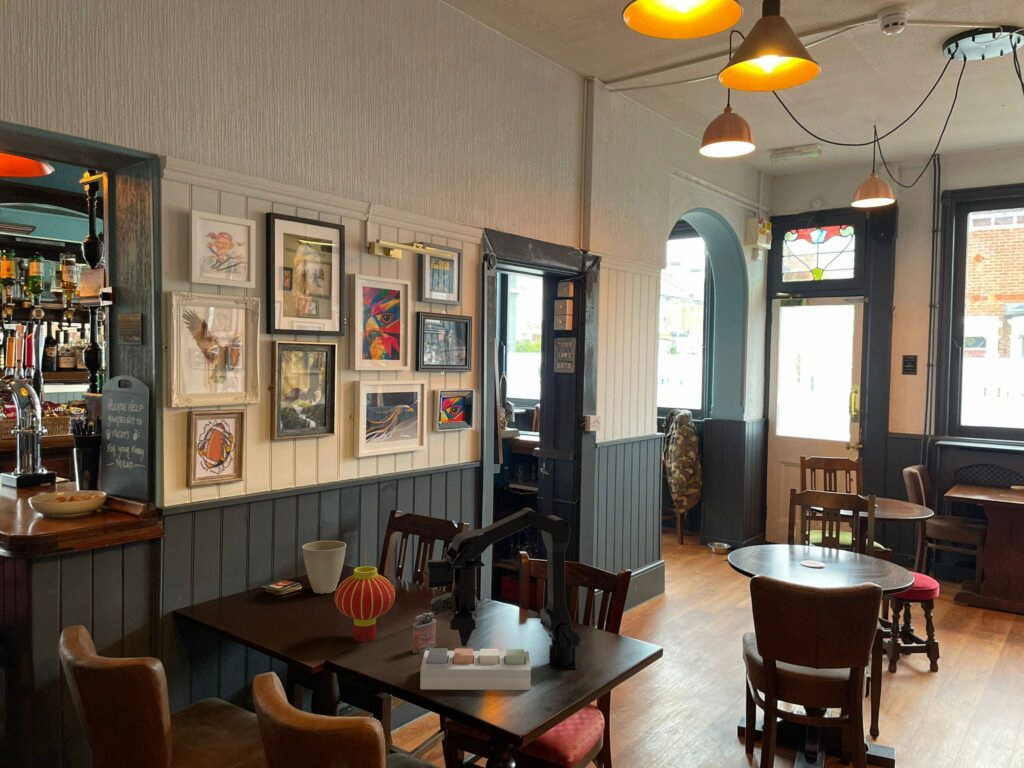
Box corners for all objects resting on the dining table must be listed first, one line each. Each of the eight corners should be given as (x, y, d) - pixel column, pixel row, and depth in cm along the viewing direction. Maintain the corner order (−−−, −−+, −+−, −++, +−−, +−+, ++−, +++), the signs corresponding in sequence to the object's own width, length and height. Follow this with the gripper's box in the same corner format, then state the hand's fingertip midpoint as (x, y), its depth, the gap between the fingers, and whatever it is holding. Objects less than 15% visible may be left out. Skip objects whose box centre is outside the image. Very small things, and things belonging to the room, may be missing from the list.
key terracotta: (472, 658, 193) (473, 648, 193) (472, 665, 189) (472, 655, 188) (454, 658, 193) (455, 648, 193) (453, 665, 188) (454, 655, 188)
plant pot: (348, 584, 271) (349, 540, 270) (342, 597, 256) (342, 550, 255) (306, 584, 270) (307, 540, 269) (297, 597, 255) (297, 550, 254)
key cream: (498, 658, 193) (498, 648, 193) (498, 665, 189) (498, 655, 189) (480, 658, 193) (480, 648, 193) (479, 665, 189) (480, 655, 189)
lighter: (430, 643, 215) (430, 608, 215) (438, 646, 213) (439, 611, 212) (409, 651, 209) (409, 615, 208) (417, 654, 206) (418, 618, 206)
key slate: (447, 658, 193) (447, 648, 193) (446, 665, 188) (446, 655, 188) (429, 657, 193) (429, 648, 193) (427, 665, 188) (428, 655, 188)
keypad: (528, 670, 197) (528, 651, 197) (530, 690, 185) (530, 669, 185) (424, 669, 197) (425, 650, 197) (420, 689, 185) (420, 669, 185)
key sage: (523, 658, 193) (523, 649, 193) (524, 665, 189) (524, 655, 189) (505, 658, 193) (505, 648, 193) (505, 665, 189) (506, 655, 189)
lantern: (404, 631, 224) (405, 531, 224) (378, 652, 208) (379, 544, 207) (352, 625, 229) (353, 526, 228) (323, 645, 212) (324, 539, 211)
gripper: (435, 573, 199) (435, 632, 200) (429, 595, 181) (428, 660, 181) (477, 574, 200) (477, 632, 200) (476, 595, 181) (475, 660, 181)
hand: (464, 645), depth 191 cm, fingers closed
